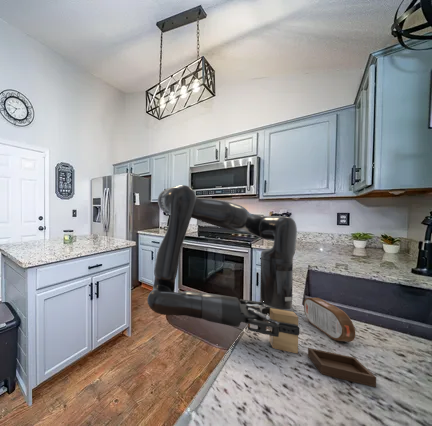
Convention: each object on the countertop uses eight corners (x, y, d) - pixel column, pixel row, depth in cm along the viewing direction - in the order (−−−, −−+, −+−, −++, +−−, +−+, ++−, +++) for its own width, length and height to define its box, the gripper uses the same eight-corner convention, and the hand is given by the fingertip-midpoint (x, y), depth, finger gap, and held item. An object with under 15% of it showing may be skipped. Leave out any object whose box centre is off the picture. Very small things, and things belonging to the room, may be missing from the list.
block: (269, 341, 55) (269, 307, 55) (292, 346, 53) (293, 311, 53) (272, 348, 52) (273, 312, 52) (297, 353, 50) (298, 317, 50)
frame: (307, 355, 50) (307, 347, 50) (354, 366, 47) (355, 357, 47) (321, 374, 44) (321, 364, 44) (376, 387, 41) (376, 377, 41)
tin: (356, 349, 52) (357, 316, 52) (341, 347, 53) (342, 314, 53) (312, 319, 67) (312, 293, 67) (301, 318, 68) (301, 292, 68)
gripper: (221, 305, 52) (304, 320, 46) (217, 287, 65) (281, 296, 59) (221, 335, 52) (304, 354, 46) (217, 311, 65) (281, 322, 59)
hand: (291, 321), depth 52 cm, fingers open, 8 cm apart
